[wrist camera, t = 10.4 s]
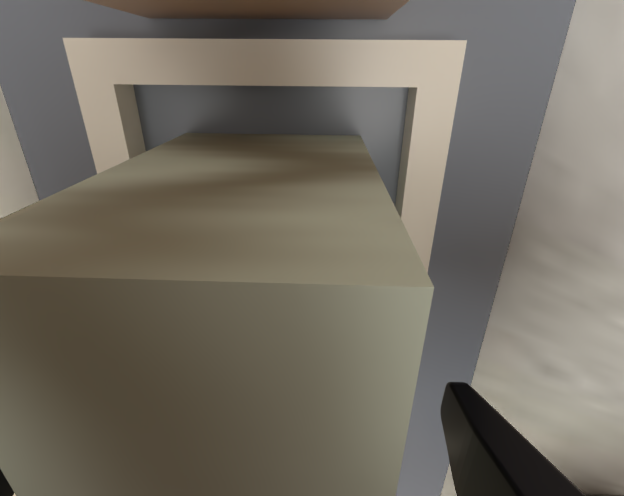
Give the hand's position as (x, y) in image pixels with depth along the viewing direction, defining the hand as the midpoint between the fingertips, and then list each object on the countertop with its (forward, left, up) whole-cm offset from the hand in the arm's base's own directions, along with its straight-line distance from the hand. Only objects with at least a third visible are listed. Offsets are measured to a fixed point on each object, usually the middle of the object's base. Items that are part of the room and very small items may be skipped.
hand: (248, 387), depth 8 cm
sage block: (0, 0, -5) cm, 5 cm away
